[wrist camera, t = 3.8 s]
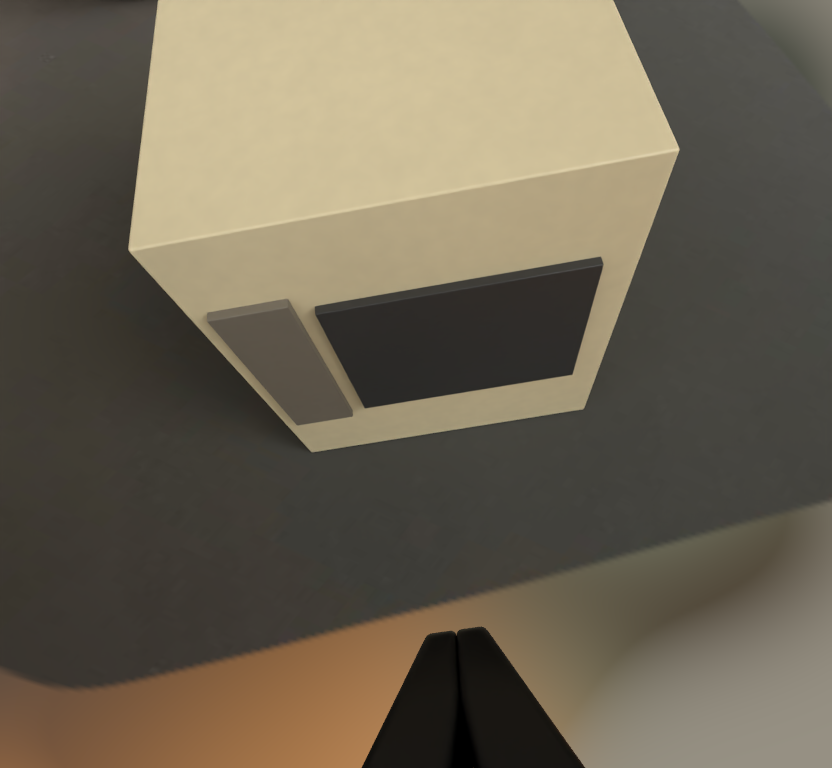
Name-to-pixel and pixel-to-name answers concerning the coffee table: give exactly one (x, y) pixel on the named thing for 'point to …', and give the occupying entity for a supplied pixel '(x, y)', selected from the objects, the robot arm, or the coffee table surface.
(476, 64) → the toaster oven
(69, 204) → the coffee table surface
